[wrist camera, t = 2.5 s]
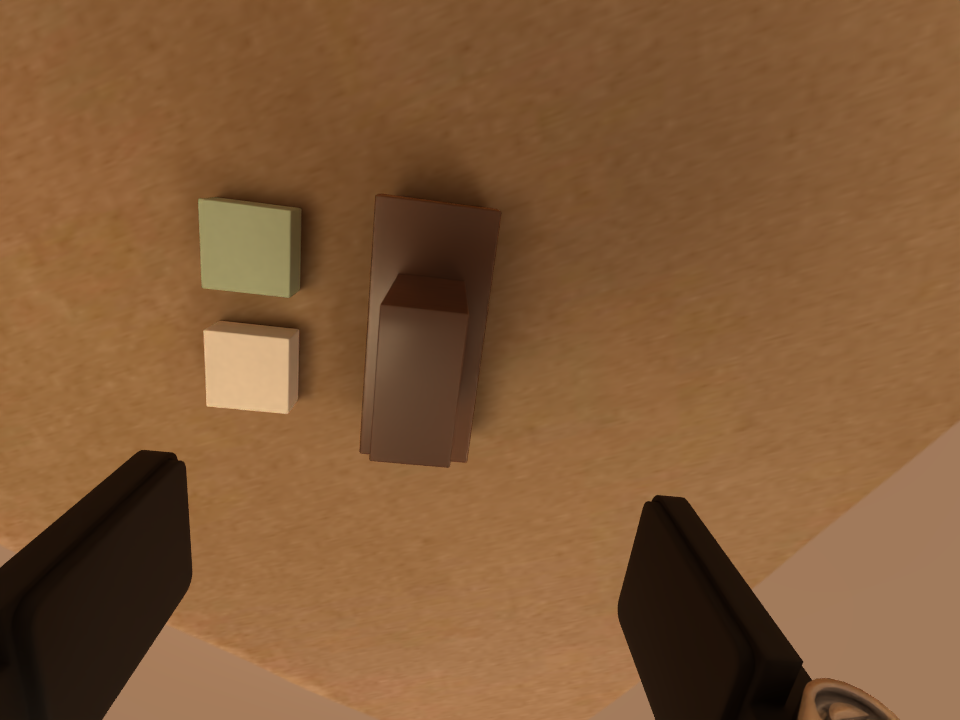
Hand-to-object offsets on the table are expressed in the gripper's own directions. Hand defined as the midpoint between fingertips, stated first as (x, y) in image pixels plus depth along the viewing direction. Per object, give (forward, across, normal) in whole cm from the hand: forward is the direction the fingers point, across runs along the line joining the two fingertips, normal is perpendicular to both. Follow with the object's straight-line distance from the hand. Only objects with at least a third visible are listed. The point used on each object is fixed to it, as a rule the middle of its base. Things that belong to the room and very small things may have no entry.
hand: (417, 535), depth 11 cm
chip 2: (+17, +9, +3) cm, 20 cm away
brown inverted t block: (+17, +1, 0) cm, 17 cm away
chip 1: (+17, +9, -3) cm, 20 cm away
